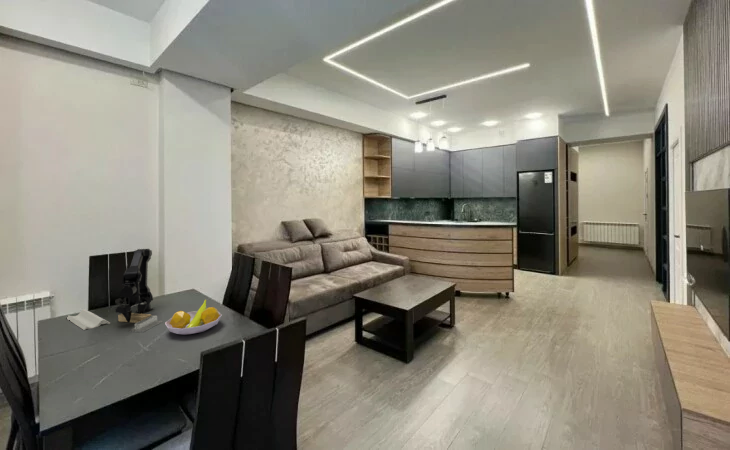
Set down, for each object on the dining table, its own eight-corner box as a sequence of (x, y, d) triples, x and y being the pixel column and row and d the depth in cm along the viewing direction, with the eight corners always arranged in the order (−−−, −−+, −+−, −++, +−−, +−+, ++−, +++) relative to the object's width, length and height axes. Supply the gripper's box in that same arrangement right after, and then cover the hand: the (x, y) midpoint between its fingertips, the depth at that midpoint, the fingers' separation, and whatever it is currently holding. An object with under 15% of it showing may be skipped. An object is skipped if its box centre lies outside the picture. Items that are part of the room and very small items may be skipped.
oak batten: (125, 319, 180) (124, 312, 180) (151, 321, 177) (151, 314, 177) (118, 321, 176) (118, 315, 176) (145, 323, 173) (145, 316, 173)
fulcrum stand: (149, 321, 176) (149, 314, 176) (162, 321, 175) (162, 315, 175) (129, 331, 162) (128, 324, 162) (143, 332, 161) (142, 324, 161)
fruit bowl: (199, 342, 150) (198, 319, 149) (152, 337, 155) (151, 315, 154) (234, 320, 177) (233, 301, 176) (193, 317, 183) (193, 298, 182)
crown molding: (66, 319, 181) (65, 313, 181) (92, 313, 191) (91, 307, 191) (84, 331, 164) (83, 324, 164) (111, 323, 174) (111, 317, 174)
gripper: (133, 287, 185) (135, 312, 187) (105, 297, 167) (107, 325, 168) (151, 288, 184) (152, 313, 186) (124, 297, 166) (126, 325, 167)
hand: (135, 319), depth 177 cm, fingers open, 8 cm apart
